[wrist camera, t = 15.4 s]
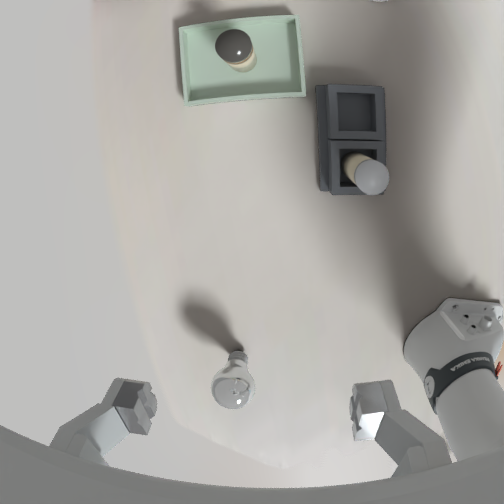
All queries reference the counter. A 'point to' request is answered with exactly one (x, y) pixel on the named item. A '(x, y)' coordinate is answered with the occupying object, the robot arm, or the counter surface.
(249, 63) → the fuse
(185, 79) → the parts tray
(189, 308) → the counter surface
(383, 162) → the fuse block
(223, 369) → the light bulb
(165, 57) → the counter surface
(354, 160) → the fuse
